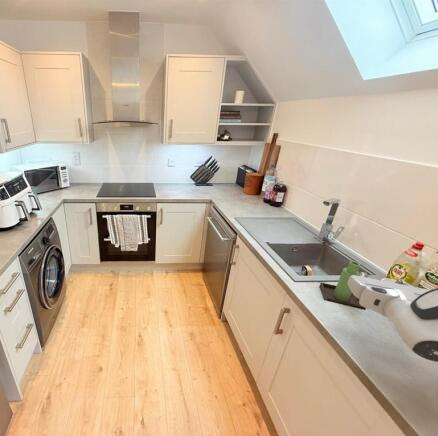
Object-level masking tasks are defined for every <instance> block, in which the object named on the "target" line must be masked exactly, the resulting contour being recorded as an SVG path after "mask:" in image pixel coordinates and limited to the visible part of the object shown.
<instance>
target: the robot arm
mask: <svg viewBox="0 0 438 436" xmlns="http://www.w3.org/2000/svg"><path fill="white" fill-rule="evenodd" d="M359 273H360V275H359V276H356V275H352V276H350V278H349V280H348V283H347V284H348V287H349V288H350V290H351V292H352V293H353V294H354V296H355V297H357V298H358V299H360V300H359V304H360V305H361V306H363V307H365V308H366V309H368V310H371V311H374V312H375V313H378V314H380V315H381V316H383V317H385V318H387V319H388V320H389V321H390V323H392V327H393V329H394V330H395V332H396V334H397V335H398V337H399V338H400V339H401V341H402V342H403V343H404V344H405V346H406V347H407V348H408V349H409V350H410V351H411V352H413V353H414V354H415V355H417V356H419V357H421V358H422V359H425V360H428V361H432V362H436V363H438V287H437V288H433V289H428V288H427V289H426V288H421V287H417V286H414V285H412V284H410V283H408V282H406V280H404V279H400V278H397V279H396V282H395V283H392V282H386V281H381V280H382V279H376V278H372V277H371V278H370V277H369V274H368V272H364V271H361V272H359Z"/></svg>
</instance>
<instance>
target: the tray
mask: <svg viewBox="0 0 438 436" xmlns="http://www.w3.org/2000/svg"><path fill="white" fill-rule="evenodd" d="M318 286H319V289H320V292H321V295H322V298H323V300H324V301H325V302H330V303H334V304H338V305H341V306H345V307H346V306H347V307H349V308H350V307H351V308H355V309H359V310H364V311H366V309H367V308H365V307H363V306H361V305H360V304H359V300H360V299H358V298H357V297H355V296H354V294H353V293H351V296H350V298H349V300H348V301H341V300H339V299H337V298H335V297H334V295H333V293H334V291H335V288H336V286H337V285H335V284H330V283H326V282H320V284H319V285H318Z"/></svg>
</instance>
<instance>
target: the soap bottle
mask: <svg viewBox="0 0 438 436" xmlns="http://www.w3.org/2000/svg"><path fill="white" fill-rule="evenodd" d="M360 267H361V264H360V263H359V262H358V261H355V260H350V261H349V262H348V264H347V267H344V268H342V271H341V274H340V275H339V279H338V281H337V282H336V283H337V284H336V285H335V286H336V288H335V291H334V293H333V295H334V297H335V298H337V299H339V300H341V301H348V300H349V298H350V296H351V293H352V292H351V290H350V288H349V287H348V284H347V283H348V280H349V278H350V276H352V275H356V276H360V273H361V272H359V269H360Z"/></svg>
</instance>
